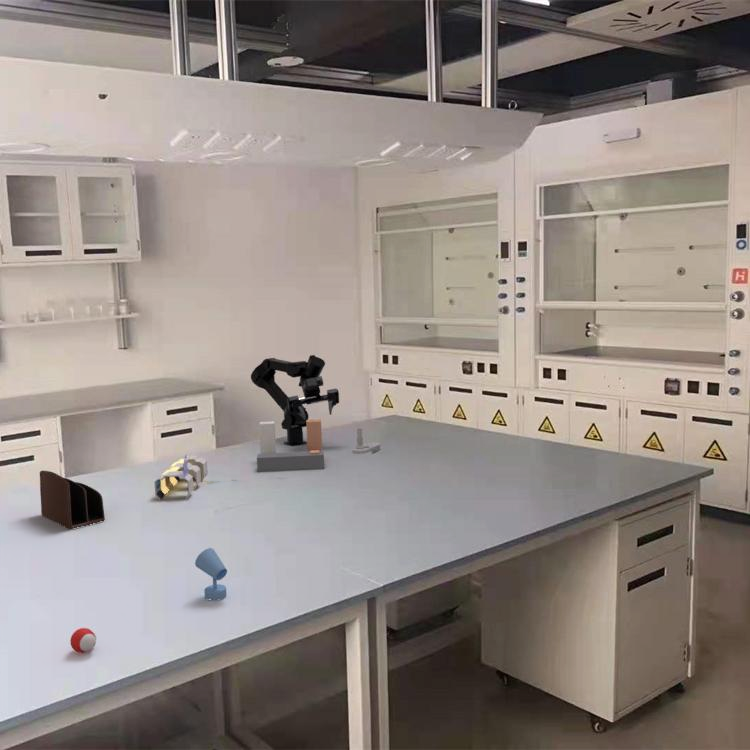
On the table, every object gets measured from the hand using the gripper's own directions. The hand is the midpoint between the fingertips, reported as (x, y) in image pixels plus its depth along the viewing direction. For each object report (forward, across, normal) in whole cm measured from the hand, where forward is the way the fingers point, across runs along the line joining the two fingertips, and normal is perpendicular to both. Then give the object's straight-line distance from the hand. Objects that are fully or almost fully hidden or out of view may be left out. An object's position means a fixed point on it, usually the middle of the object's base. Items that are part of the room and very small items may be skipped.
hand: (318, 416), depth 285 cm
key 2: (+17, -5, +4) cm, 18 cm away
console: (+19, -13, +2) cm, 23 cm away
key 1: (+14, -20, +4) cm, 25 cm away
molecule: (+114, -63, -72) cm, 148 cm away
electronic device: (+10, +15, +14) cm, 23 cm away
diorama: (+28, -49, -9) cm, 57 cm away
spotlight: (+100, -40, -59) cm, 123 cm away
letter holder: (+44, -78, -24) cm, 93 cm away
